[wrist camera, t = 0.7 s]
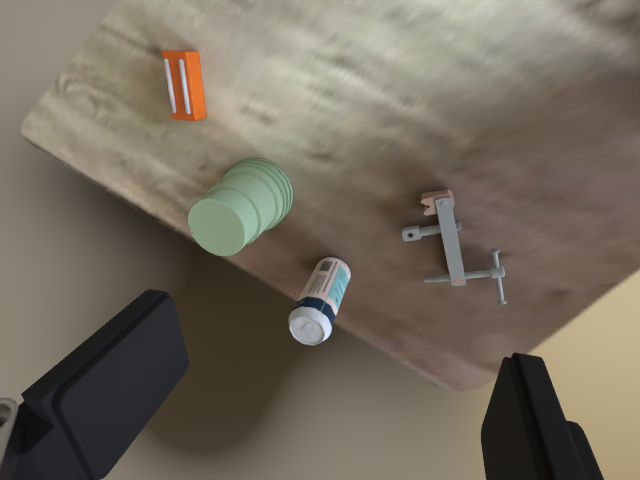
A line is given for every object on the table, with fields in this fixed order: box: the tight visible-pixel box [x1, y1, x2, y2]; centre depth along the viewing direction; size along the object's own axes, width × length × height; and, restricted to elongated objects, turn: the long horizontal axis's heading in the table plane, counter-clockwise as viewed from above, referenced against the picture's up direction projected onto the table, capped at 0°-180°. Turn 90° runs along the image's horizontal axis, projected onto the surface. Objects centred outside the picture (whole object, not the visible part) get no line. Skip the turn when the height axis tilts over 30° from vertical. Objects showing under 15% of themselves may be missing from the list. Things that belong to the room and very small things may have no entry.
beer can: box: [289, 257, 350, 345], centre depth 42 cm, size 5×5×12 cm
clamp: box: [402, 189, 506, 305], centre depth 41 cm, size 15×2×10 cm
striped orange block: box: [162, 50, 206, 121], centre depth 40 cm, size 7×3×3 cm, turn 179°
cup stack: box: [188, 158, 293, 256], centre depth 40 cm, size 9×9×11 cm
